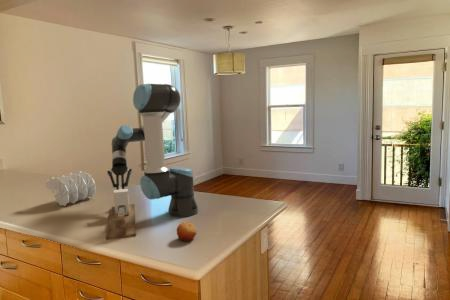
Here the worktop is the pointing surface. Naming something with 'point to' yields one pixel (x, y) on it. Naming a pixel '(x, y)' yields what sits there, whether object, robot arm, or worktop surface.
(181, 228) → the fruit
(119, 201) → the sleeve
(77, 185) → the spiral staircase
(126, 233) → the walnut board
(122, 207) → the steel rod
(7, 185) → the worktop surface
